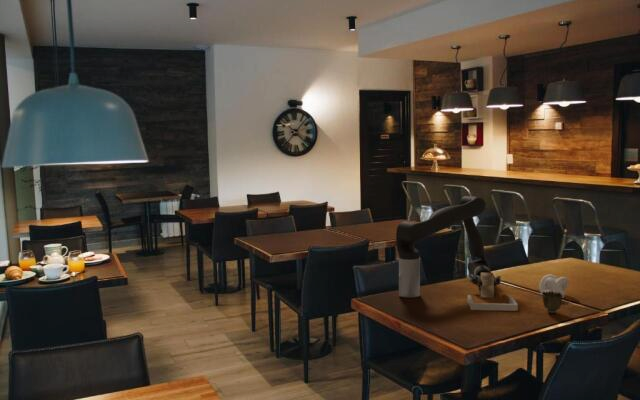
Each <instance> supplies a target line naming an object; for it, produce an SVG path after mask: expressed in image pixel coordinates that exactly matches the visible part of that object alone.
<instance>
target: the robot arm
mask: <svg viewBox="0 0 640 400" xmlns="http://www.w3.org/2000/svg"><path fill="white" fill-rule="evenodd" d="M486 206H487V205H486V201H485V199H484V198H483V197H480V196H474V195H465V196H462V197H461V199H460V200H459V204H458V205H451V206H446V207H443V208H439V209H437V210H435V211H433V212H432V213H431V215H430V216H429V217H428V219H425V220H423V221H420V222H413V221H412V222H411V221H404V220H403V221H401V222H400V223H399V224H397V227H396V231H395V232H396V233H395V234H396V236H395V239H396V240H395V241H396V251H397V254H398V297H401V298H408V299H409V298H410V299H411V298H418V297H420V295H421V289H420V288H421V283H420V282H421V277H420V275H421V273H420V272H421V263H420V262H421V261H420V259H421V257H420V255H421V253H420V251H419V250H418V249H417V248H416V247H415V246H414V244H418V243H420V242H422V241H424V240H425V239H427V238H428V237H430V236H431V235H434V234H436V233H439V232H441V231H444V230H446V229H448V228H450V227H452V226H454V225H456V224H458V223H461V222H463V225H464V229H465V231H466V235H467V236H466V237H467V243H468V249H469V255H470V256H471V257H477V258H480V259H476V260H475V259H474V260H470V261H469V262H468V263H467V270H468V272H469V274H470V276H469V282H470V283H472V285H473V284H474V285H476V284H477V285H478V286H480V287H481V286H482V280H481V273H492V271H491V264H490V263H489V260H488V259H487V256H486V252H485V247H484V240H483V237H482V233H481V232H480V231H479V228H478V227H477V225H476V223H475V221H474V217H477V216H481V215H482V214H483V213H484V212H485V210H486ZM500 284H501V276H500V275H497V276H494V287H496V286H498V285H500Z"/></svg>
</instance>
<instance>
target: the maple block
mask: <svg viewBox="0 0 640 400" xmlns="http://www.w3.org/2000/svg"><path fill="white" fill-rule="evenodd" d="M494 277H495V275H494V273H493V272H491V273H481V280H482V286H480V296H481V298H484V299H485V298H486V299H487V298H488V299H489V298H491V299H494V297H495V288H494Z"/></svg>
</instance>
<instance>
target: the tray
mask: <svg viewBox="0 0 640 400" xmlns="http://www.w3.org/2000/svg"><path fill="white" fill-rule="evenodd" d="M467 302H468V303H467V304H468V306H469V309H470V310H471V311H473V310H474V311H507V312H508V311H514V312H516V311H517V312H518V305H519V304H518V303H517V301H516V300H515V298H514V297H513V295H509V296H508V303H497V302H496V303H493V302H487V303H486V302H485V303H484V302H483V303H482V302H474V300H473V298H472V295H471V294H467Z"/></svg>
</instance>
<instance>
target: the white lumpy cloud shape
mask: <svg viewBox="0 0 640 400" xmlns="http://www.w3.org/2000/svg"><path fill="white" fill-rule="evenodd" d="M568 285H569V279H568V278H567V277H566V276H561V277H559V278H558V277H557V276H556V275H554V274H551V273H550V274H546V275H544V276H543V277H542V278H541V280H540V281H539V285H538V286H539V287H538V288H539V290H538V291H539V292H540V294H541V295H542V296H543V294H542V293H543V292H545V293H546V292H549V291H550V292H552V291H553V292H554V294H555V292H557V293H558V292H560V294H561V295H563V296H562V299H564V297H565V292H564V291H566V289H567V288H568Z"/></svg>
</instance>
